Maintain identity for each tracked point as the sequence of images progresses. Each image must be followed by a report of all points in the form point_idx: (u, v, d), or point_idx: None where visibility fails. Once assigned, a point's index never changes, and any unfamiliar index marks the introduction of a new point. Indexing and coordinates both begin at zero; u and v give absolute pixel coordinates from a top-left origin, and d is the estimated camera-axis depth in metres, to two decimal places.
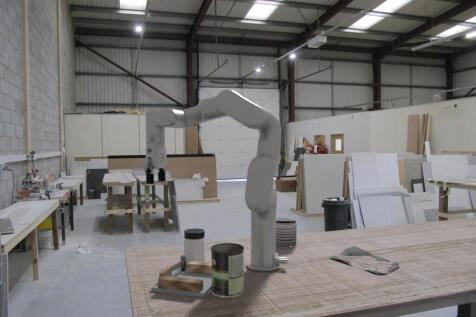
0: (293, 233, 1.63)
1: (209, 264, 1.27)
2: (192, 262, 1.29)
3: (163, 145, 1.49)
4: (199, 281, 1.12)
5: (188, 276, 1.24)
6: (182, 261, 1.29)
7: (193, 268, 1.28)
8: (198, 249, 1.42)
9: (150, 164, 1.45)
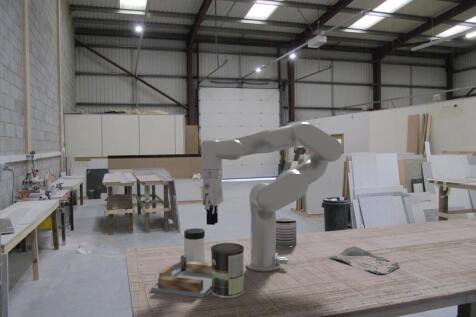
0: (293, 233, 1.63)
1: (209, 264, 1.27)
2: (192, 262, 1.29)
3: (220, 179, 1.34)
4: (199, 281, 1.12)
5: (188, 276, 1.24)
6: (182, 261, 1.29)
7: (193, 268, 1.28)
8: (198, 249, 1.42)
9: None
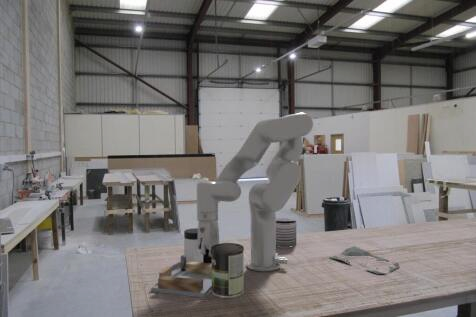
0: (293, 233, 1.63)
1: (208, 265, 1.26)
2: (192, 262, 1.29)
3: (216, 220, 1.31)
4: (199, 281, 1.12)
5: (188, 276, 1.24)
6: (182, 261, 1.29)
7: (193, 268, 1.27)
8: (198, 249, 1.42)
9: None
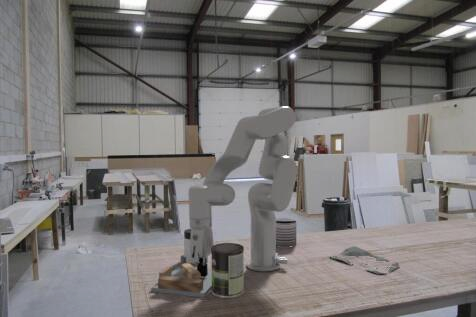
0: (293, 233, 1.63)
1: (191, 270, 1.21)
2: (186, 264, 1.27)
3: (210, 227, 1.23)
4: (199, 281, 1.12)
5: None
6: (182, 261, 1.29)
7: (183, 270, 1.26)
8: None
9: None
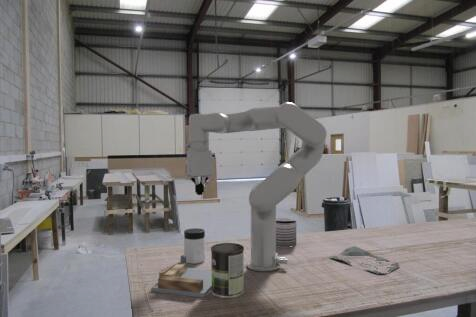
0: (293, 233, 1.63)
1: (170, 271, 1.21)
2: (180, 264, 1.27)
3: (205, 151, 1.37)
4: (199, 281, 1.12)
5: (188, 276, 1.24)
6: (182, 261, 1.29)
7: None
8: (198, 249, 1.42)
9: None
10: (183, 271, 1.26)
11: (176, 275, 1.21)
